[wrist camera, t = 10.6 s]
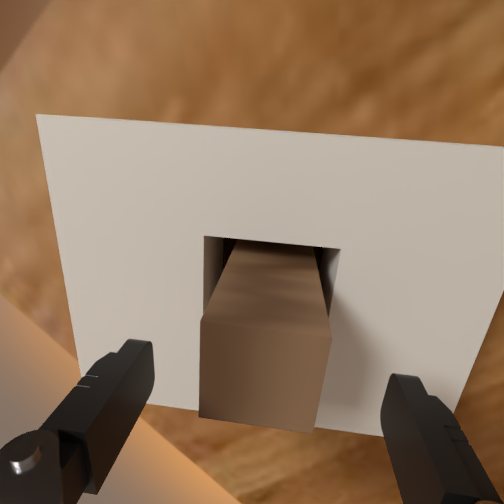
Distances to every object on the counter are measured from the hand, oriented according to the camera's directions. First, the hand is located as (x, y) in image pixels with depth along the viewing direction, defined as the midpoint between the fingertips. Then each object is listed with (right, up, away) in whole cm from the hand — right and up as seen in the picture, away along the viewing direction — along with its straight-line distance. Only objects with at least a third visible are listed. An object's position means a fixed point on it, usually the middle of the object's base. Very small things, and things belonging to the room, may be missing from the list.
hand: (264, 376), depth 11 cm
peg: (+1, +4, +9) cm, 10 cm away
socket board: (+1, +4, +9) cm, 10 cm away
